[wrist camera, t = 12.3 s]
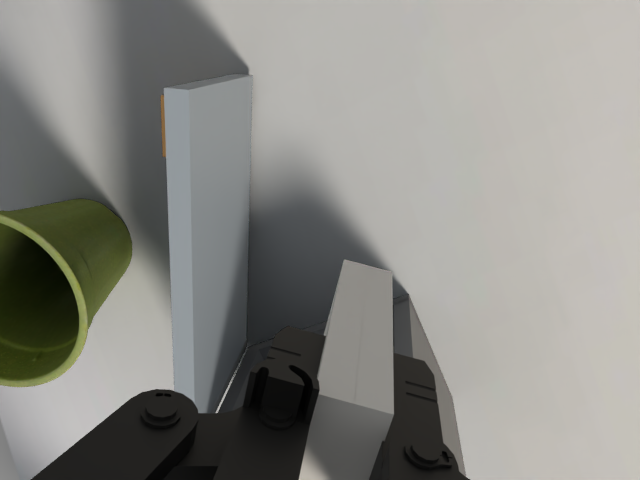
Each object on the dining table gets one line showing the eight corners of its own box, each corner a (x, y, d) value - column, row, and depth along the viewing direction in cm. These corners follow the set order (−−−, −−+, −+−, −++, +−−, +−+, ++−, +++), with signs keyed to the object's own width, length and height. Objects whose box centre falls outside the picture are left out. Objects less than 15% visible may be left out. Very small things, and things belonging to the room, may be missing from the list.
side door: (253, 75, 35) (190, 90, 24) (247, 350, 43) (197, 458, 32) (226, 73, 35) (151, 86, 24) (224, 347, 43) (167, 453, 32)
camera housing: (452, 397, 43) (478, 546, 30) (298, 439, 46) (263, 588, 34) (408, 294, 40) (416, 409, 27) (248, 347, 44) (190, 471, 31)
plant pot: (190, 274, 42) (122, 352, 31) (76, 324, 45) (-20, 409, 35) (109, 140, 39) (4, 176, 28) (-8, 203, 42) (-140, 257, 31)
